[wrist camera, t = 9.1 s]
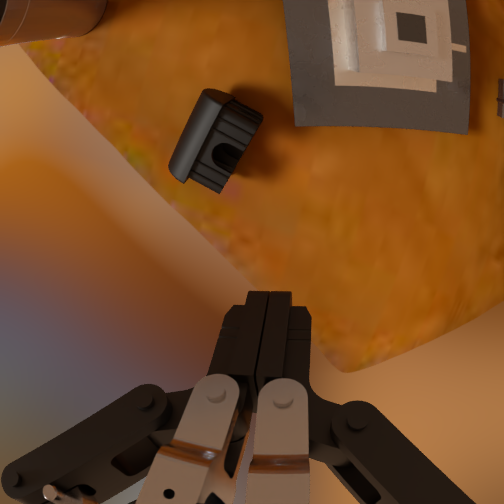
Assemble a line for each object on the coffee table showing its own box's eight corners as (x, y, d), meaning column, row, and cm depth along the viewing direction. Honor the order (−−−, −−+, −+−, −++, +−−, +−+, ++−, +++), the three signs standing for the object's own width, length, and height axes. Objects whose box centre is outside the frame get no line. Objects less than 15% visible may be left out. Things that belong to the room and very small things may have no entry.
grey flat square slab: (295, 123, 33) (295, 126, 32) (277, -44, 22) (276, -48, 21) (462, 131, 29) (467, 134, 28) (455, -27, 18) (461, -29, 17)
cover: (348, 69, 27) (363, 73, 20) (341, -6, 23) (353, -26, 16) (425, 75, 26) (460, 84, 19) (420, 3, 21) (454, -10, 14)
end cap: (214, 84, 34) (195, 90, 28) (267, 112, 35) (259, 123, 29) (180, 153, 39) (159, 171, 34) (228, 179, 40) (215, 201, 35)
